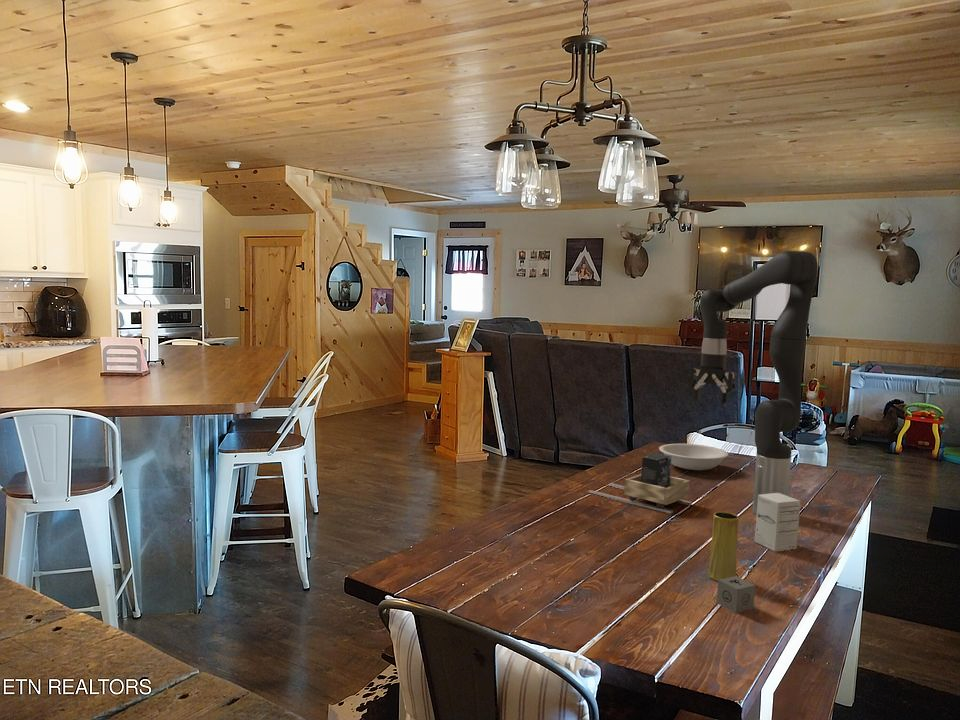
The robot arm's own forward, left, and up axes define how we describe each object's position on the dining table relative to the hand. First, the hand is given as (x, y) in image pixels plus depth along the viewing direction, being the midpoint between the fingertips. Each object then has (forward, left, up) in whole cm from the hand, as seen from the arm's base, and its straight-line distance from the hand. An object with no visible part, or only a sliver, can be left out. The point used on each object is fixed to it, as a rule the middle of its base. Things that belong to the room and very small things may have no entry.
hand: (710, 402), depth 232 cm
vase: (-35, +68, -28) cm, 82 cm away
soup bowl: (+15, -22, -28) cm, 39 cm away
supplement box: (-36, +38, -28) cm, 60 cm away
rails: (+9, +27, -28) cm, 40 cm away
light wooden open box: (+3, +27, -28) cm, 39 cm away
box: (+4, +27, -25) cm, 37 cm away
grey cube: (-43, +80, -28) cm, 95 cm away
